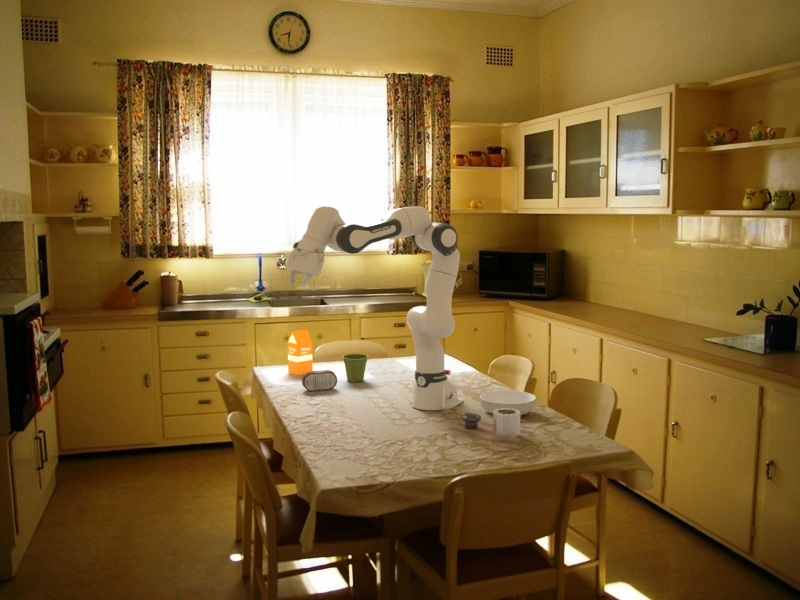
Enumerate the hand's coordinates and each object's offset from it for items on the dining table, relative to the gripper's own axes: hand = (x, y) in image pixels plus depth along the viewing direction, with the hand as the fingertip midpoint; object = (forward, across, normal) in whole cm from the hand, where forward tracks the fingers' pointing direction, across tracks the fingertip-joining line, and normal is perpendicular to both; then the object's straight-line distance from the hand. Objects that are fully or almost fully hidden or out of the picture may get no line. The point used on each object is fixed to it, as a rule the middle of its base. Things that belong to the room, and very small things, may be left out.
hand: (296, 285), depth 261 cm
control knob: (+23, -39, -64) cm, 78 cm away
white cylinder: (+21, -52, -68) cm, 88 cm away
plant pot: (+24, +51, -70) cm, 90 cm away
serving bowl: (+14, -29, -88) cm, 93 cm away
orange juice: (+30, +81, -59) cm, 105 cm away
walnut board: (+23, -46, -67) cm, 84 cm away
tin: (+33, +44, -51) cm, 75 cm away
